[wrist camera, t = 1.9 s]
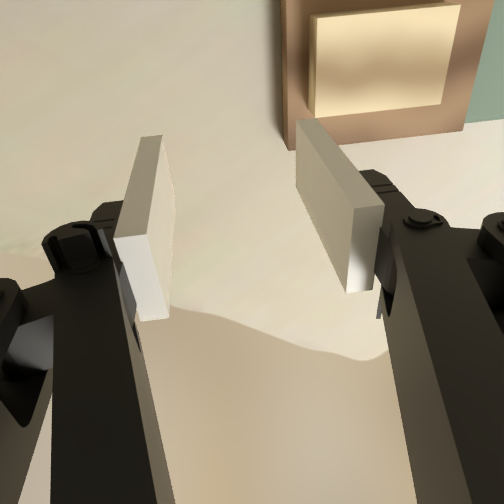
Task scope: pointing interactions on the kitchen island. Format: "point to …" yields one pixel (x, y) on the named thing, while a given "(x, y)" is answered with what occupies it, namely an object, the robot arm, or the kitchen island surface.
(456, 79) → the walnut deck
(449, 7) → the maple tile
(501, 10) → the rubber mat
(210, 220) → the kitchen island surface
